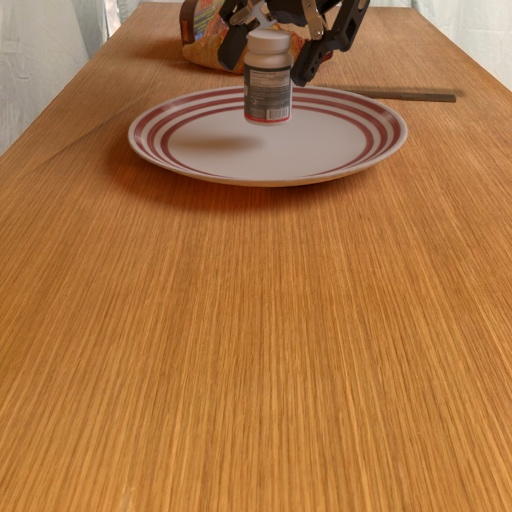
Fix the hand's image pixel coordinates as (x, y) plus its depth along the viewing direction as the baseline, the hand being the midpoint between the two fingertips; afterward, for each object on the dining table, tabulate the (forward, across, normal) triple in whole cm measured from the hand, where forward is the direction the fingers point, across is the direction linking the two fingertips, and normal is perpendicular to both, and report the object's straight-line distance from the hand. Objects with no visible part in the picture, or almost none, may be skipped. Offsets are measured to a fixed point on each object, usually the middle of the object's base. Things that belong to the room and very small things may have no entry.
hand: (259, 73), depth 65 cm
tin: (-14, -32, +26) cm, 44 cm away
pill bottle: (+2, 0, +5) cm, 5 cm away
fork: (-12, +2, +24) cm, 27 cm away
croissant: (-12, -20, +24) cm, 34 cm away
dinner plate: (+5, 0, +7) cm, 9 cm away
